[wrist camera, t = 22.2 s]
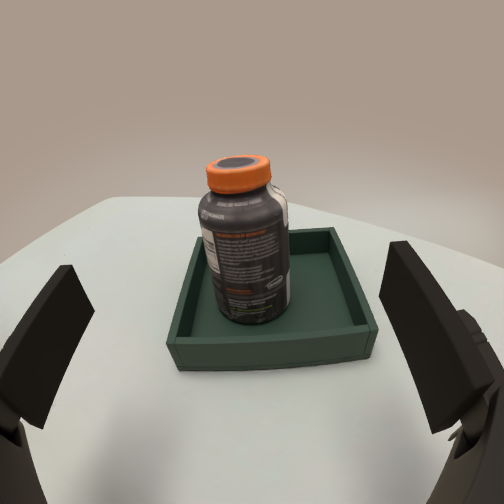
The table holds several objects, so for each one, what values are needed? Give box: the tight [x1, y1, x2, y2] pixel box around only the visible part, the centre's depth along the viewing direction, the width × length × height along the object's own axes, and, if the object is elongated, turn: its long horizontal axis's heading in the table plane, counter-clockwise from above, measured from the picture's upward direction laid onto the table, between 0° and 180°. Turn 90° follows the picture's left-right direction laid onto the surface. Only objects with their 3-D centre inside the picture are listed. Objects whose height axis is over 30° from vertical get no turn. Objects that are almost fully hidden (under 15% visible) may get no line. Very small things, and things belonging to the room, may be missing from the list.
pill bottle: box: [198, 155, 290, 323], centre depth 20 cm, size 6×6×11 cm
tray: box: [166, 227, 379, 371], centre depth 23 cm, size 13×13×3 cm
